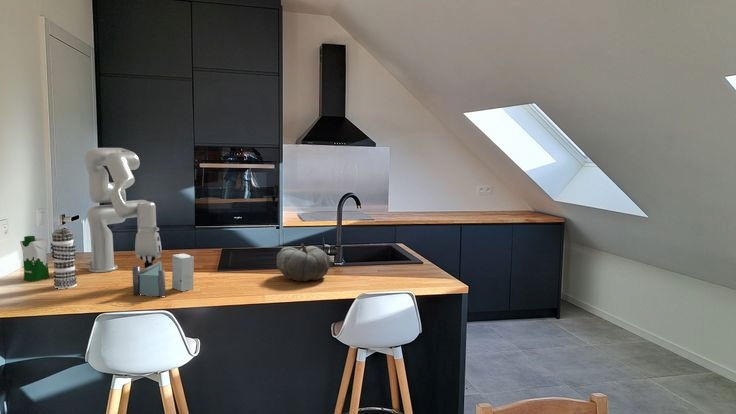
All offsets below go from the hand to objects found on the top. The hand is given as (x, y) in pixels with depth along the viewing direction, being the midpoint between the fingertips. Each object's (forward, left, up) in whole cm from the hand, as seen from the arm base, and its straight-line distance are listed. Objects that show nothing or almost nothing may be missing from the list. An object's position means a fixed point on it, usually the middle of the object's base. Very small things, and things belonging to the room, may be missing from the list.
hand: (148, 270), depth 226 cm
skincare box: (+18, -3, -6) cm, 19 cm away
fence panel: (+11, -15, -6) cm, 20 cm away
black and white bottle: (-33, -10, -6) cm, 35 cm away
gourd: (+64, +25, -6) cm, 69 cm away
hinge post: (+4, -15, -6) cm, 17 cm away
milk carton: (-54, -2, -6) cm, 54 cm away
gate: (+3, -5, -5) cm, 8 cm away
